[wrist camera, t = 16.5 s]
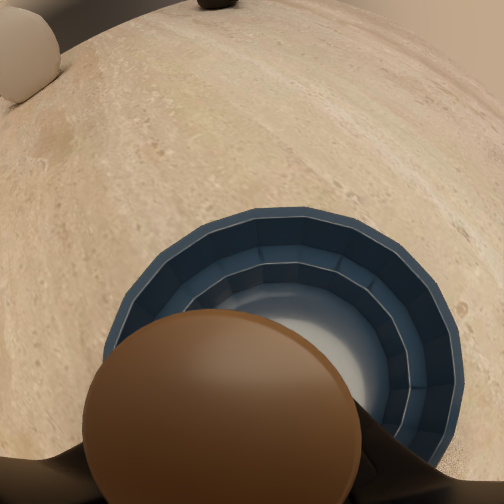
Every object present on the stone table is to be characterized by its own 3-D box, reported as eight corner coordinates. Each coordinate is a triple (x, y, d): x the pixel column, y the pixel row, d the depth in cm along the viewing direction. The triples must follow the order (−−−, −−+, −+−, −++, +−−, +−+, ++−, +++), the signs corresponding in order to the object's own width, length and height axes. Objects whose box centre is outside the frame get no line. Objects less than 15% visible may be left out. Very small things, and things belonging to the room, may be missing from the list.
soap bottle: (66, 64, 42) (27, -35, 18) (71, 71, 39) (28, -41, 15) (9, 104, 38) (-39, 11, 15) (8, 117, 35) (-48, 12, 11)
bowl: (312, 541, 10) (327, 591, 5) (109, 402, 15) (48, 397, 10) (443, 338, 16) (499, 309, 10) (251, 223, 20) (243, 161, 15)
